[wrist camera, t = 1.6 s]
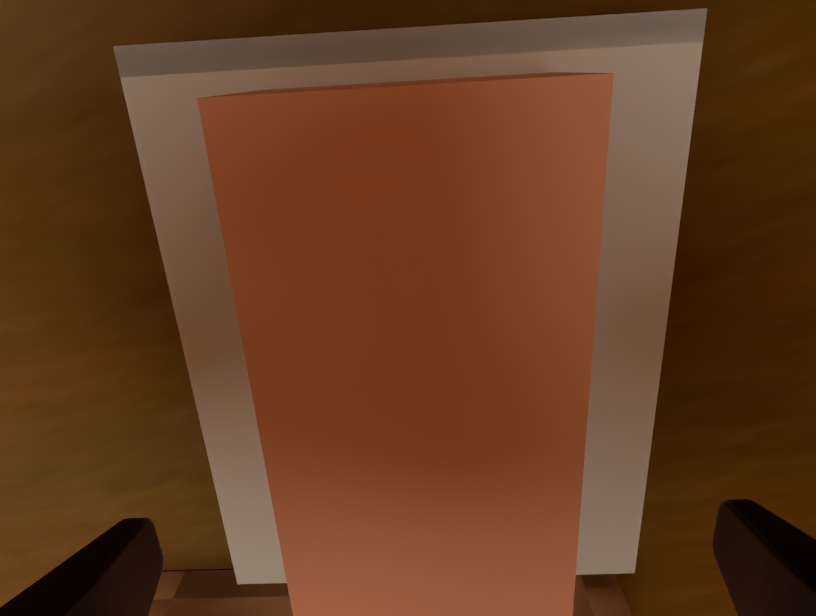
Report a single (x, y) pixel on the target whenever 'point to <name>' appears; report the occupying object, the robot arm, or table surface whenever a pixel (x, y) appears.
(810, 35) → the table surface
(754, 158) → the table surface
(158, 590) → the shelf tray
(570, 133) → the terracotta rectangular block
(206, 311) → the book pile base
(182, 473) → the table surface
